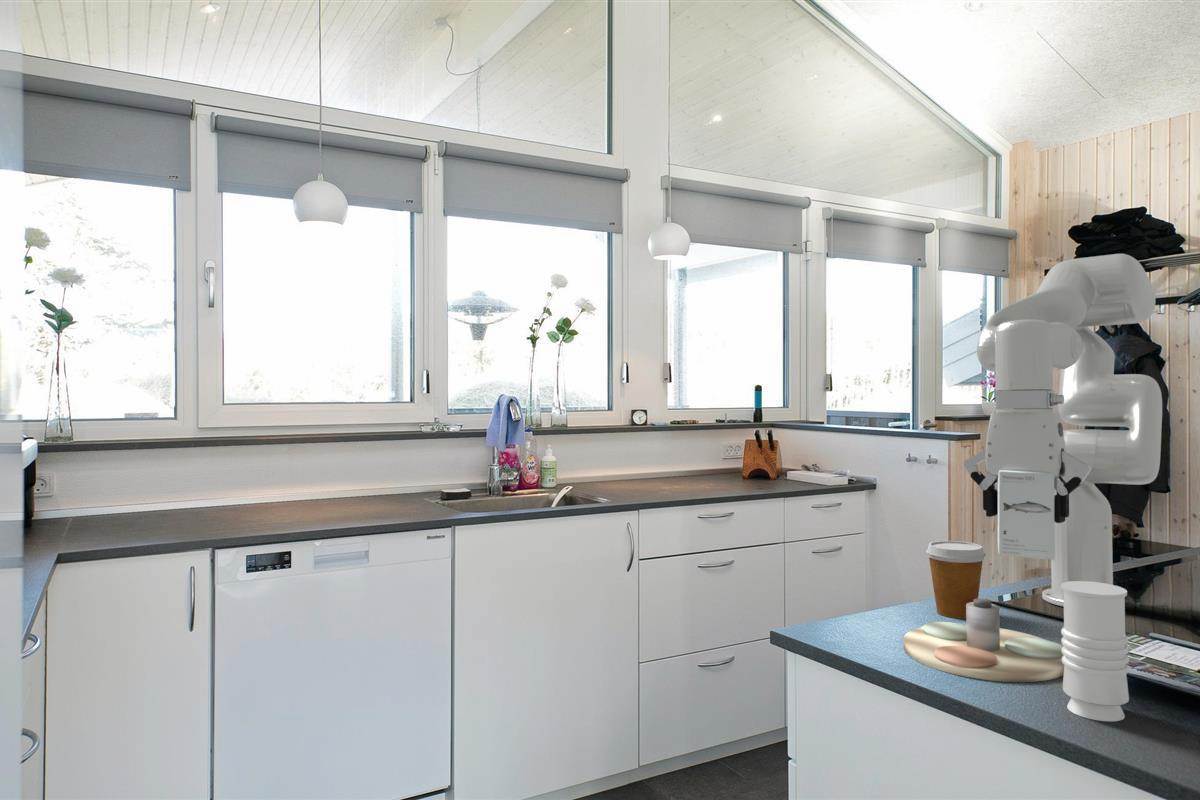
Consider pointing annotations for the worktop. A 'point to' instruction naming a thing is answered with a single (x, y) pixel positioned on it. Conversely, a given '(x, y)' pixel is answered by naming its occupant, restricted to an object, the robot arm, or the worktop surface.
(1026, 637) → the carrier
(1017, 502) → the supplement box
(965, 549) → the disposable coffee cup
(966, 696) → the worktop surface
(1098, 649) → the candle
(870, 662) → the worktop surface
